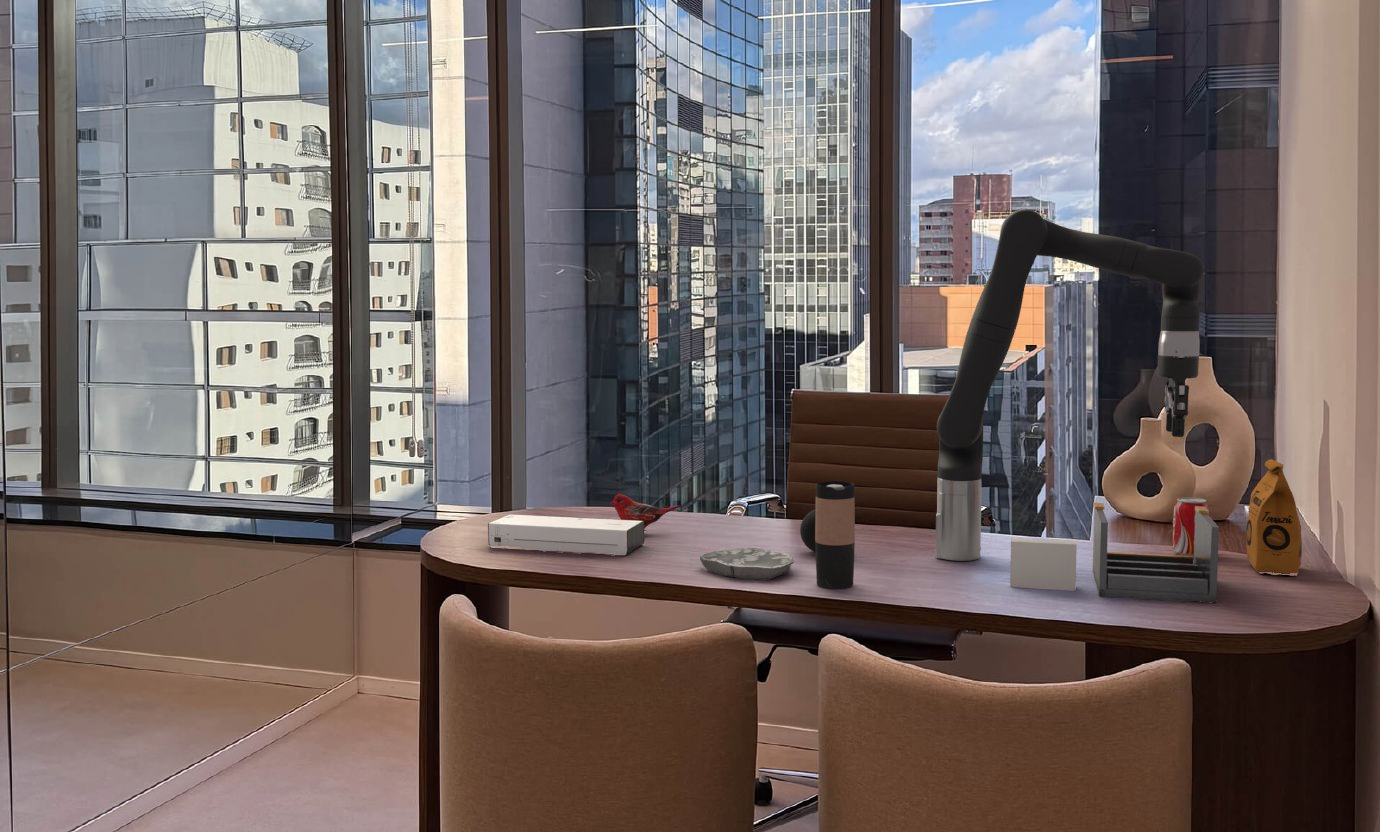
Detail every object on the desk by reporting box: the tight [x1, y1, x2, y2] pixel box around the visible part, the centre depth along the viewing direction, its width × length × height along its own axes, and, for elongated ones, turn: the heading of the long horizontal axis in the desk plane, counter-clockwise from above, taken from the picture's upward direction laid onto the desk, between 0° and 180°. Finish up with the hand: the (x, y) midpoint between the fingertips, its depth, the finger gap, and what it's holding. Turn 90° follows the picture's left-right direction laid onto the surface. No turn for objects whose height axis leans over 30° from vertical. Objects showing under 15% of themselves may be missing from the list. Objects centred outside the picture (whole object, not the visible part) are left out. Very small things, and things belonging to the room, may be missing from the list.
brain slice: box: [699, 547, 795, 580], centre depth 233 cm, size 20×17×3 cm
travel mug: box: [815, 480, 856, 590], centre depth 219 cm, size 8×8×20 cm
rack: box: [1092, 502, 1220, 603], centre depth 215 cm, size 21×20×14 cm
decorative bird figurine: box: [609, 493, 681, 531], centre depth 270 cm, size 3×18×10 cm, turn 107°
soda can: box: [1172, 496, 1210, 558], centre depth 241 cm, size 7×7×12 cm
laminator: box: [487, 514, 645, 555], centre depth 256 cm, size 34×12×6 cm, turn 73°
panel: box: [1009, 537, 1078, 592], centre depth 216 cm, size 12×3×9 cm, turn 73°
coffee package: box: [1245, 458, 1303, 574], centre depth 226 cm, size 10×12×22 cm
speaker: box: [799, 508, 816, 553], centre depth 247 cm, size 10×10×10 cm
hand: (1174, 434), depth 226 cm, fingers open, 8 cm apart
